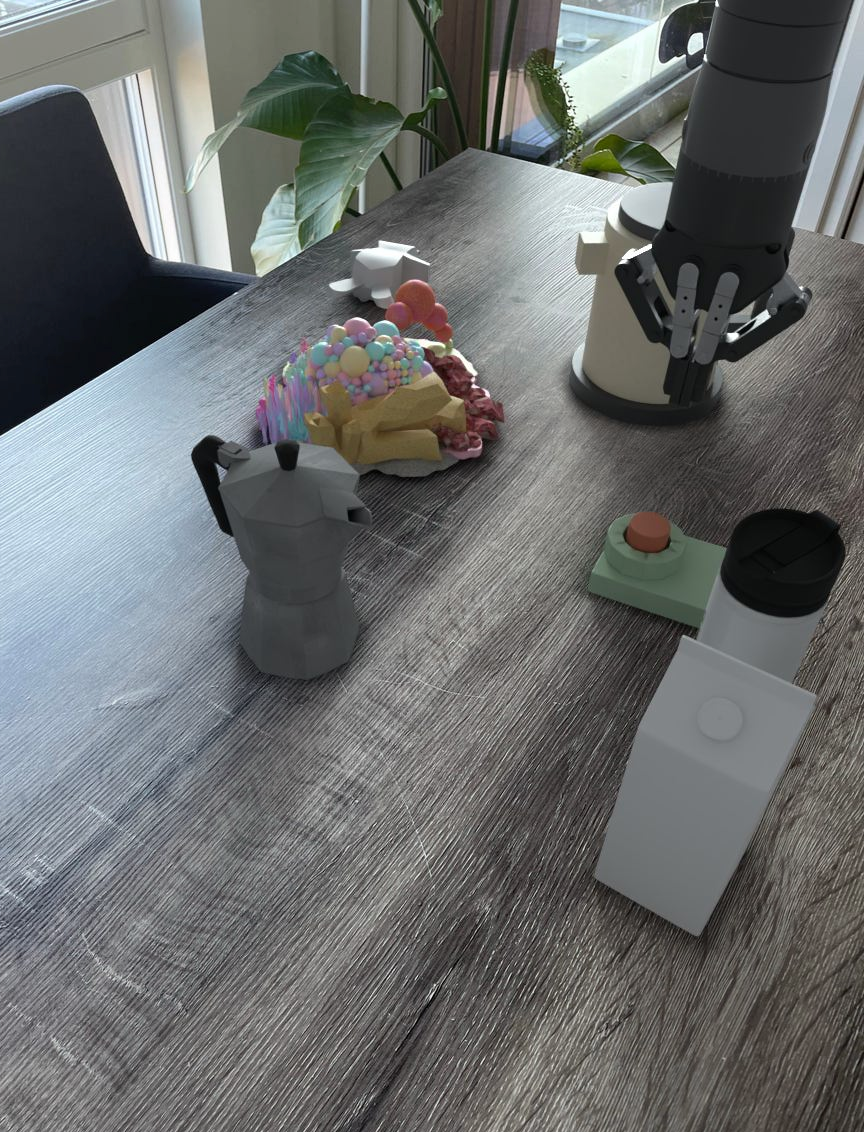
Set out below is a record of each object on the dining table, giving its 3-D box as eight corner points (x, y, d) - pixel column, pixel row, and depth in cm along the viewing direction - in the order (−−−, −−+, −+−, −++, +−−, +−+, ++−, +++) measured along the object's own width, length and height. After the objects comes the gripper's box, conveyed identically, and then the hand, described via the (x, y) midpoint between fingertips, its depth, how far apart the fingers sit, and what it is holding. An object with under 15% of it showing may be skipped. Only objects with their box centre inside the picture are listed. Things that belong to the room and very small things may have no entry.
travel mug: (775, 765, 71) (877, 545, 57) (708, 809, 69) (797, 590, 54) (707, 707, 75) (788, 486, 61) (642, 747, 72) (709, 526, 58)
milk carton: (641, 803, 69) (709, 597, 55) (742, 857, 66) (840, 654, 53) (592, 878, 65) (652, 676, 51) (697, 939, 62) (791, 743, 49)
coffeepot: (405, 639, 79) (412, 444, 67) (330, 715, 74) (322, 519, 61) (252, 560, 86) (232, 368, 73) (173, 625, 80) (136, 430, 67)
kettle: (771, 426, 100) (838, 225, 86) (571, 429, 99) (605, 227, 85) (725, 339, 111) (777, 149, 97) (545, 341, 111) (571, 150, 96)
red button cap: (671, 535, 83) (675, 518, 82) (660, 559, 81) (664, 542, 80) (632, 523, 84) (636, 506, 83) (620, 546, 82) (624, 529, 81)
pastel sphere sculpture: (539, 460, 96) (552, 372, 89) (295, 513, 90) (289, 423, 83) (437, 330, 112) (442, 247, 105) (225, 367, 106) (216, 283, 100)
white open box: (443, 240, 118) (399, 283, 107) (439, 284, 122) (396, 330, 110) (366, 226, 120) (315, 267, 109) (364, 270, 124) (315, 314, 113)
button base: (782, 587, 84) (797, 550, 81) (760, 650, 79) (775, 613, 76) (617, 535, 88) (625, 498, 86) (586, 592, 83) (594, 555, 81)
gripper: (873, 146, 61) (786, 399, 73) (655, 106, 65) (608, 353, 77) (852, 192, 56) (763, 454, 69) (618, 146, 60) (574, 402, 73)
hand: (681, 400), depth 73 cm, fingers closed
